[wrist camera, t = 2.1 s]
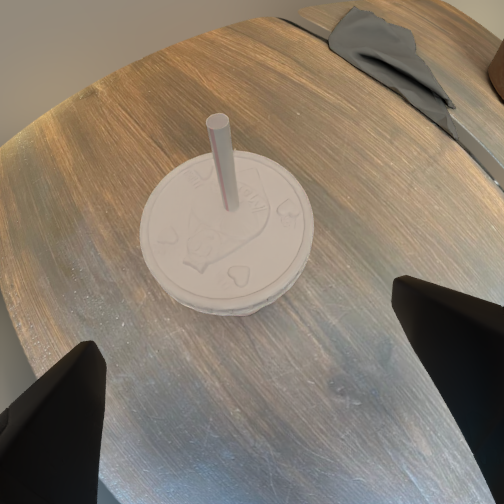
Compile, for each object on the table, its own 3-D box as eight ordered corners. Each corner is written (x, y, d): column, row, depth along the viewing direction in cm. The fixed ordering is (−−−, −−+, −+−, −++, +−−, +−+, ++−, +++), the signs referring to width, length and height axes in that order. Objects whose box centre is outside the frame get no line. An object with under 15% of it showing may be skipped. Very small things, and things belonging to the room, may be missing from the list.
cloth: (316, 4, 34) (318, -9, 32) (404, 20, 33) (407, 9, 31) (344, 122, 25) (350, 104, 23) (470, 144, 24) (481, 131, 22)
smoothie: (308, 268, 20) (375, 105, 7) (261, 357, 18) (261, 333, 5) (223, 225, 22) (180, 45, 8) (172, 306, 20) (38, 195, 7)
